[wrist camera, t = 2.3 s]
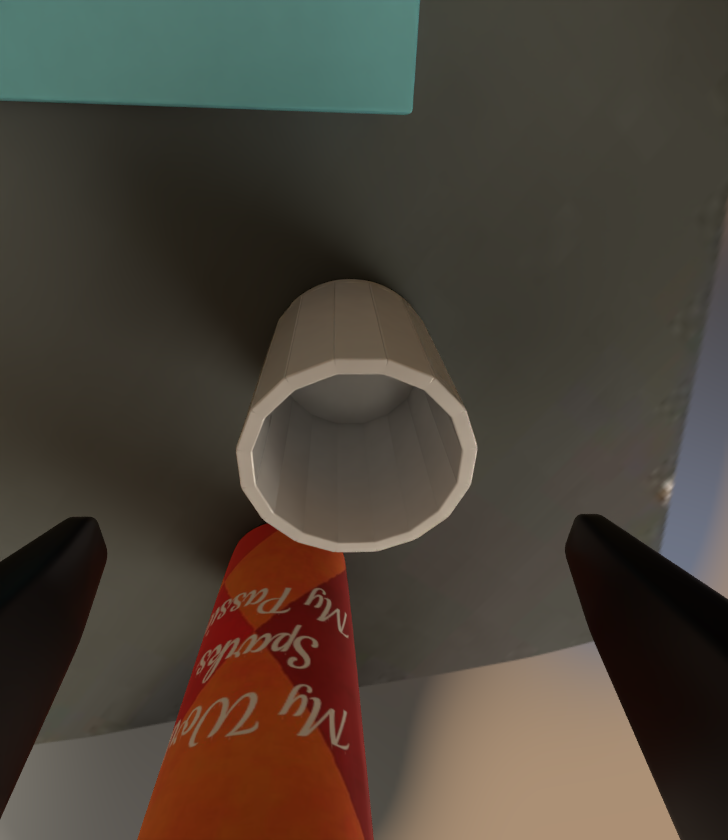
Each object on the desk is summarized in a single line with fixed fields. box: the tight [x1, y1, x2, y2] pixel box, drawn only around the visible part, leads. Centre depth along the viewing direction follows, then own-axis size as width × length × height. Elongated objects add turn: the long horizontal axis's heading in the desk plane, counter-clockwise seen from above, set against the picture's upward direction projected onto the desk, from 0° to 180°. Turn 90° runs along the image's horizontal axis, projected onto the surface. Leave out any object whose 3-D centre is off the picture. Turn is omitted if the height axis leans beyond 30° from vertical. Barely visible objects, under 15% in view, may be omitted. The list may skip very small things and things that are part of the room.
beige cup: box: [236, 279, 478, 552], centre depth 15 cm, size 6×6×7 cm
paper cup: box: [137, 524, 374, 840], centre depth 17 cm, size 8×8×14 cm
